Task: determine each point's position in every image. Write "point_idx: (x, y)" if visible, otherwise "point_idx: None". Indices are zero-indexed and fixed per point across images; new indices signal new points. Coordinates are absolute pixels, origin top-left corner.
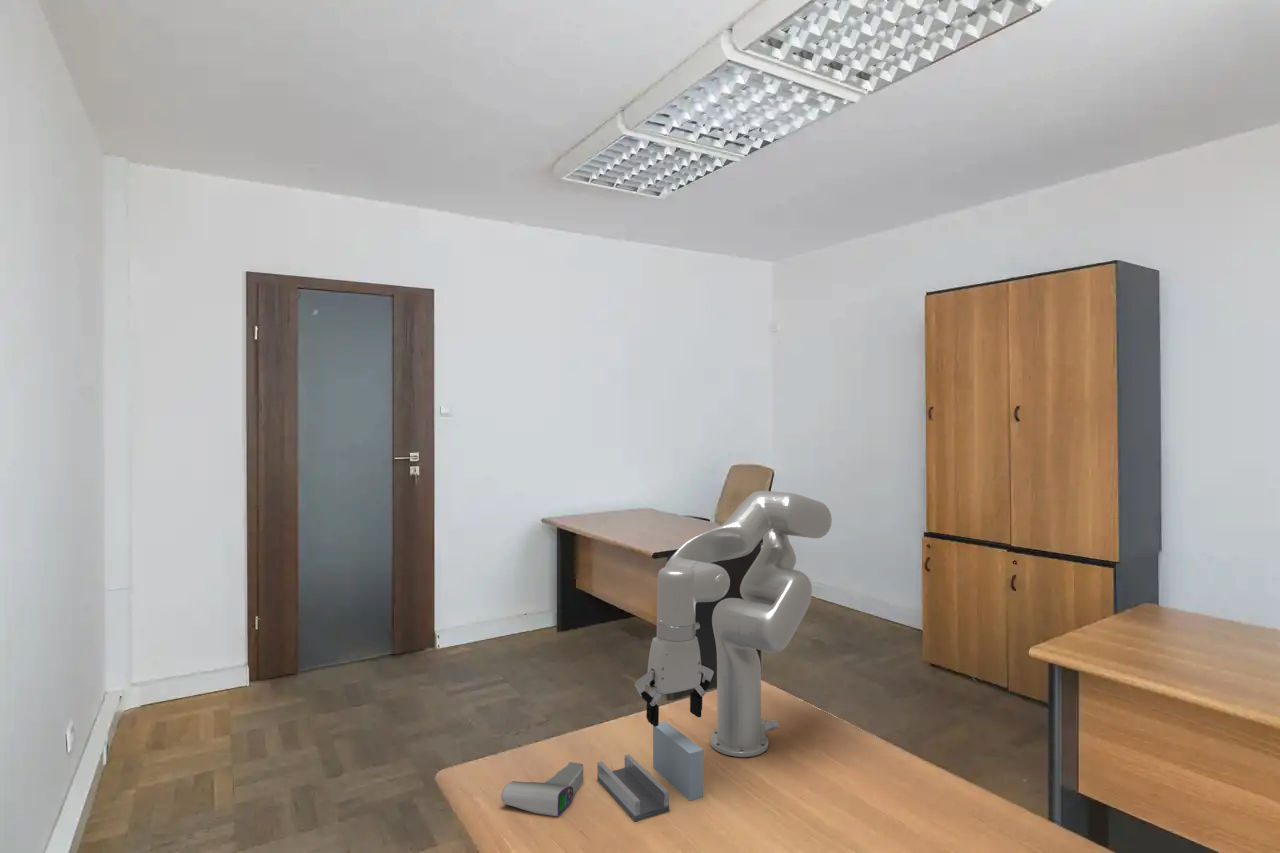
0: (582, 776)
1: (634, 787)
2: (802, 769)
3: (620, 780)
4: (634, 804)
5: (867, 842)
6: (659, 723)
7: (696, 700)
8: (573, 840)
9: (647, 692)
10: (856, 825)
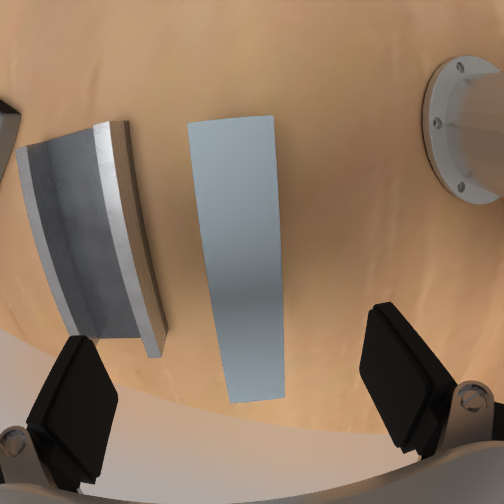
0: (7, 143)
1: (105, 238)
2: (487, 281)
3: (54, 268)
4: None
5: None
6: (226, 126)
7: (395, 424)
8: (5, 328)
9: (5, 476)
10: None
